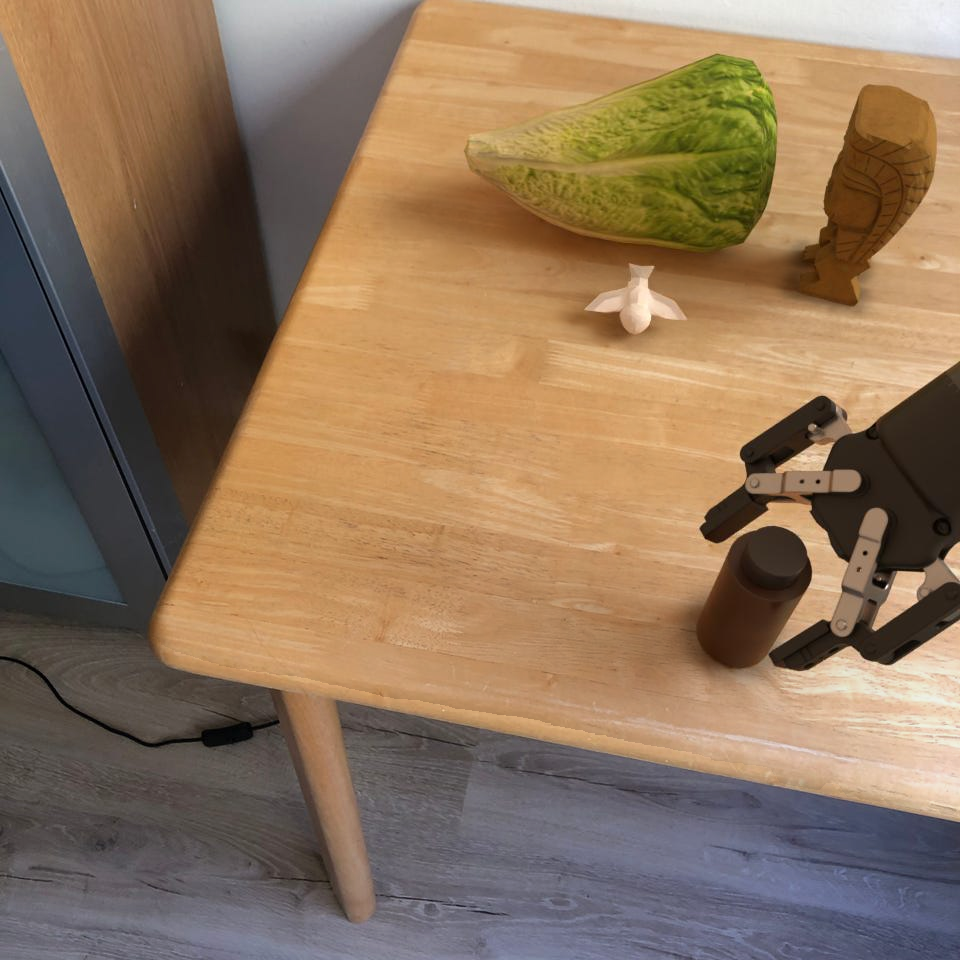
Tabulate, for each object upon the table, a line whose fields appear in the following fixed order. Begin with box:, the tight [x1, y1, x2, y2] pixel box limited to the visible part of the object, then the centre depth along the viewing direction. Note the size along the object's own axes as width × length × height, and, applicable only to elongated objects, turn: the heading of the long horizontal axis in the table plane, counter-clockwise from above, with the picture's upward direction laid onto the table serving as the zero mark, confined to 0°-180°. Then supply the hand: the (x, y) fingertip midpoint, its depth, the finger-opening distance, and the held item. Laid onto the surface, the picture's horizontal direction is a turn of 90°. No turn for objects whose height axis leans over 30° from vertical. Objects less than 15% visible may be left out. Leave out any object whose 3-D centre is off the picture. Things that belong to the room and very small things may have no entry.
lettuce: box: [463, 53, 778, 253], centre depth 78 cm, size 14×24×15 cm
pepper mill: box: [696, 525, 813, 669], centre depth 56 cm, size 5×5×10 cm
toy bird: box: [583, 262, 688, 335], centre depth 74 cm, size 8×5×5 cm, turn 83°
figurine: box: [796, 83, 938, 307], centre depth 73 cm, size 7×7×15 cm
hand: (741, 597), depth 55 cm, fingers open, 8 cm apart
